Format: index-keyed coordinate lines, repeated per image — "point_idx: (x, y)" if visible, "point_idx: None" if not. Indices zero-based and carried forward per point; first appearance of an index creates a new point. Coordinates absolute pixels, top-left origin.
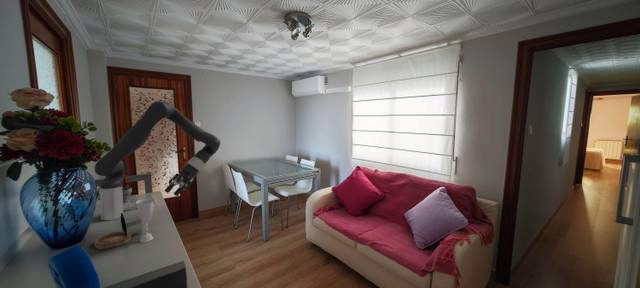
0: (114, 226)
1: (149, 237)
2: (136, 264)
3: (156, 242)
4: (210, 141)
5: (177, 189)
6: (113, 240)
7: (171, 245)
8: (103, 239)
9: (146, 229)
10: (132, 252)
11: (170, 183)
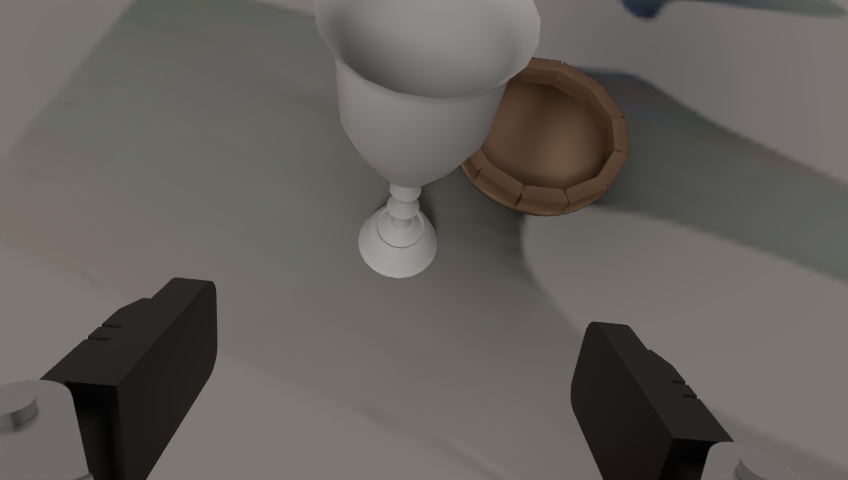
0: (793, 249)
1: (367, 235)
2: (156, 72)
3: (292, 247)
4: None
5: (129, 338)
6: (536, 137)
7: (150, 268)
8: (595, 121)
9: (390, 200)
10: (302, 123)
11: (735, 469)
